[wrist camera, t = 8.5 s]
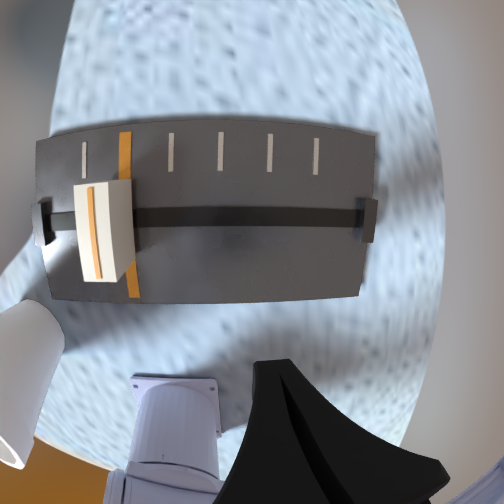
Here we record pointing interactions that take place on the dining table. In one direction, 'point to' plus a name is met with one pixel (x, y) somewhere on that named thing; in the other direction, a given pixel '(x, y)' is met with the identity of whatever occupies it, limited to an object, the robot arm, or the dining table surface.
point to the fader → (104, 229)
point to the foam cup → (25, 374)
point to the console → (215, 210)
